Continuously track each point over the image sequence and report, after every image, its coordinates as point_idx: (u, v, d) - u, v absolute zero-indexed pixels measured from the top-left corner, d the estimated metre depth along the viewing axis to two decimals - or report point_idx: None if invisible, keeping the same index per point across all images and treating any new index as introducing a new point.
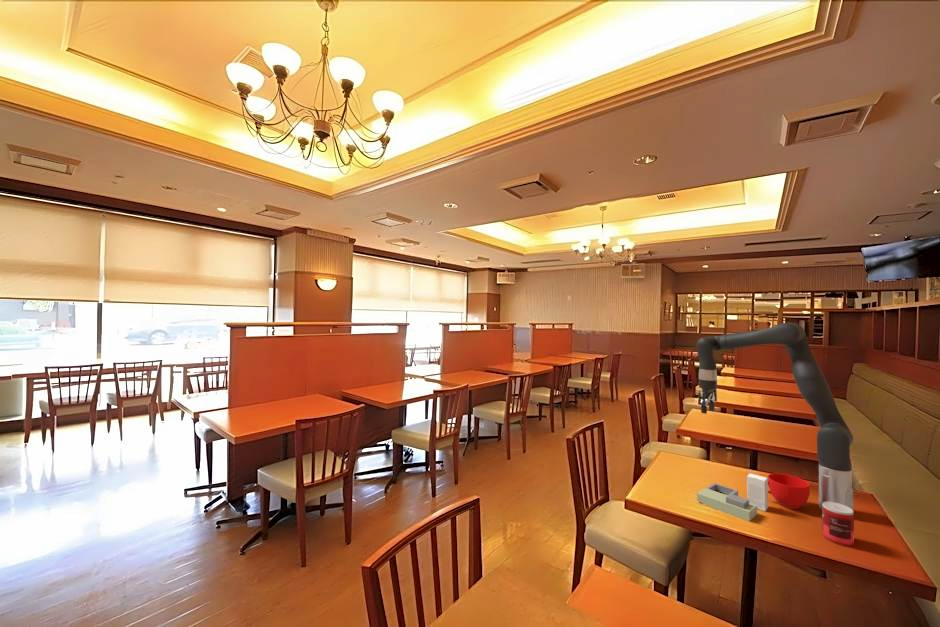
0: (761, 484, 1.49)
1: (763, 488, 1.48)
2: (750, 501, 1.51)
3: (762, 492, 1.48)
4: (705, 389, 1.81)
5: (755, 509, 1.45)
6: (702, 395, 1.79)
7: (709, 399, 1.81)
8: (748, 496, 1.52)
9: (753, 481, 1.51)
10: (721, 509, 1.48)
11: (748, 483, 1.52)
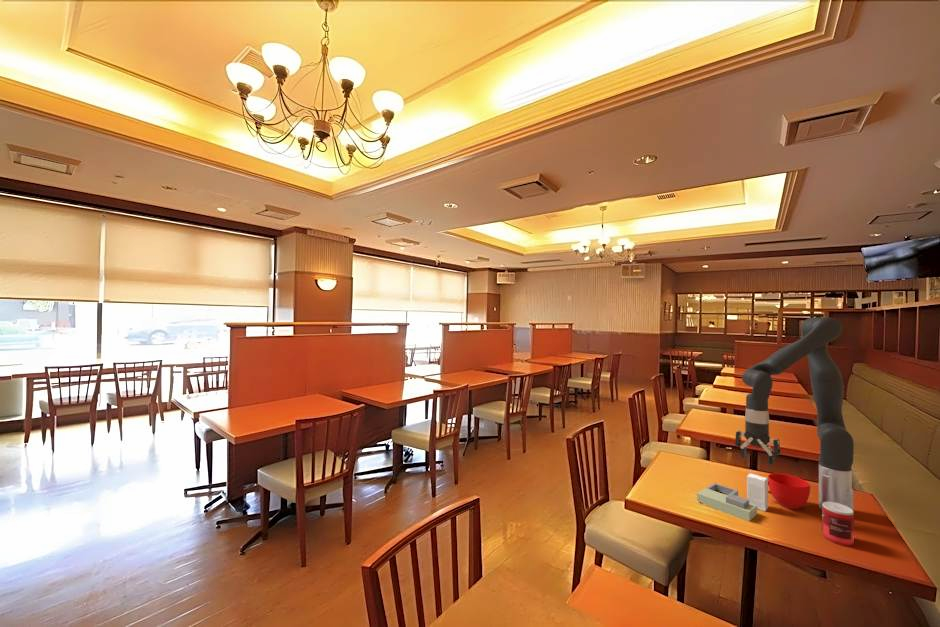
0: (761, 484, 1.49)
1: (763, 488, 1.48)
2: (750, 501, 1.51)
3: (762, 492, 1.48)
4: (768, 434, 1.49)
5: (755, 509, 1.45)
6: (778, 443, 1.46)
7: (766, 445, 1.50)
8: (748, 496, 1.52)
9: (753, 481, 1.51)
10: (721, 509, 1.48)
11: (748, 483, 1.52)
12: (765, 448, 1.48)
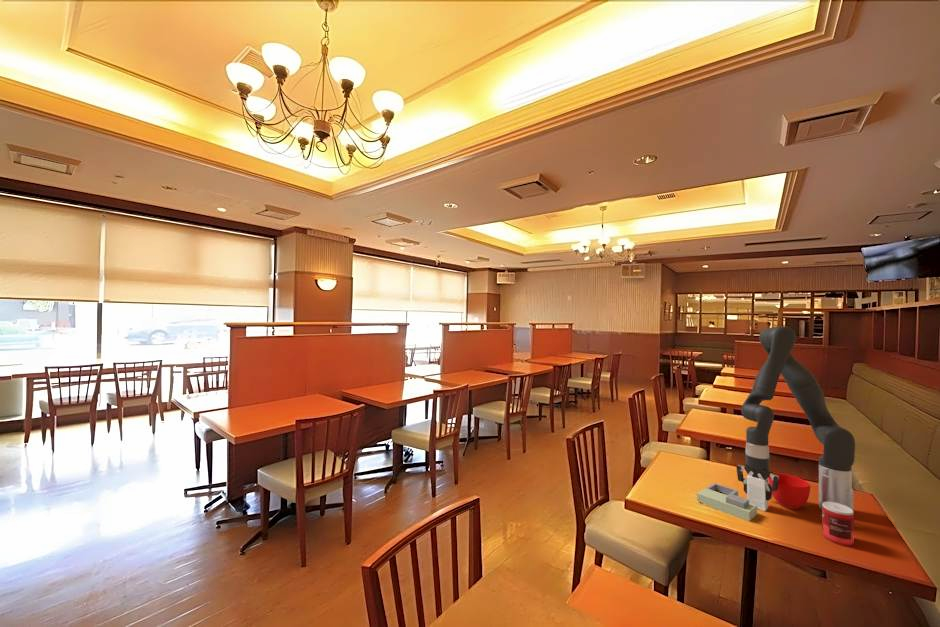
0: (761, 484, 1.49)
1: (763, 488, 1.48)
2: (750, 501, 1.51)
3: (762, 492, 1.48)
4: None
5: (755, 509, 1.45)
6: (778, 479, 1.46)
7: None
8: (748, 496, 1.52)
9: (753, 481, 1.51)
10: (721, 509, 1.48)
11: (748, 483, 1.52)
12: None
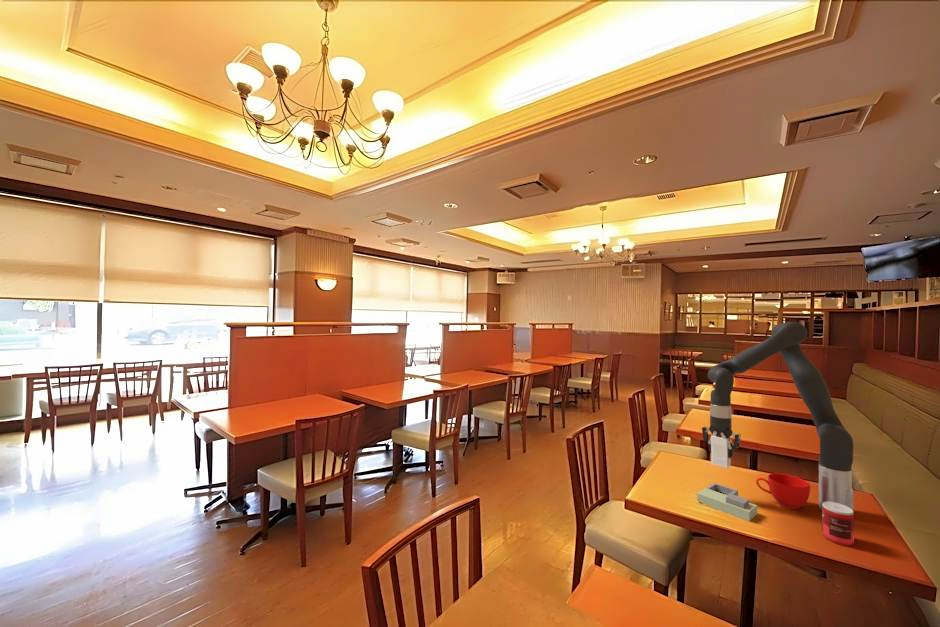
0: (724, 442, 1.57)
1: (725, 446, 1.56)
2: (714, 459, 1.59)
3: (724, 450, 1.56)
4: None
5: (755, 509, 1.45)
6: (739, 438, 1.54)
7: None
8: (712, 455, 1.60)
9: (716, 440, 1.59)
10: (721, 509, 1.48)
11: (712, 442, 1.60)
12: None
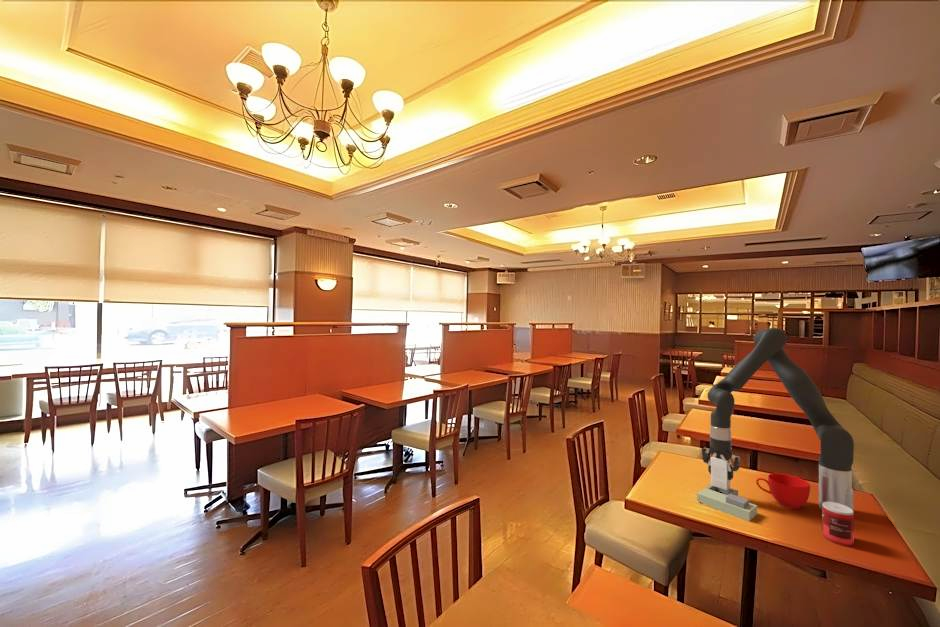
0: (724, 464, 1.57)
1: (725, 468, 1.56)
2: (713, 481, 1.60)
3: (724, 472, 1.57)
4: None
5: (755, 509, 1.45)
6: (739, 460, 1.54)
7: None
8: (712, 476, 1.60)
9: (716, 462, 1.59)
10: (721, 509, 1.48)
11: (712, 464, 1.60)
12: None
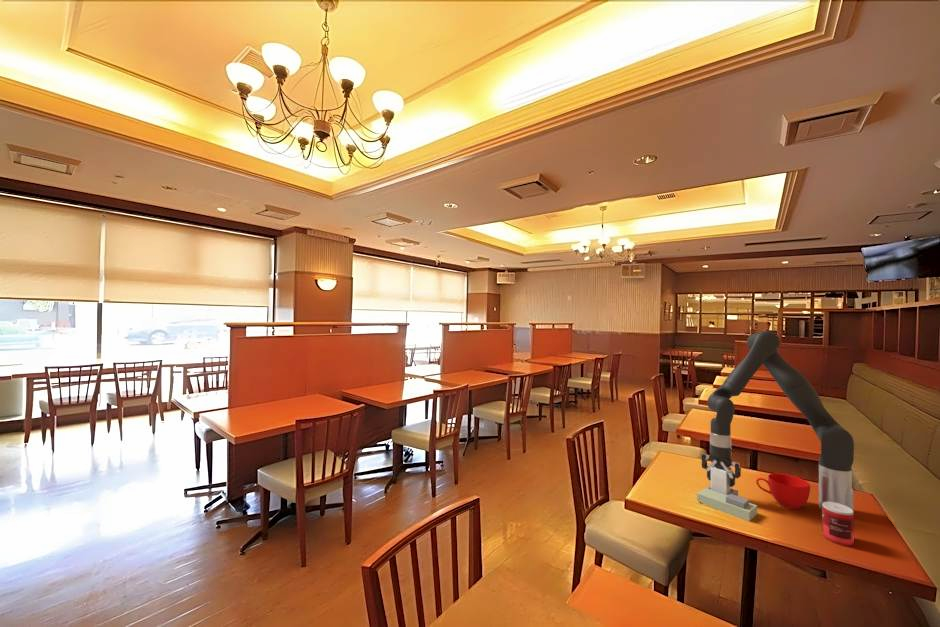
0: (723, 475, 1.57)
1: (725, 479, 1.56)
2: None
3: (724, 483, 1.57)
4: None
5: (755, 509, 1.45)
6: (739, 466, 1.54)
7: None
8: (711, 487, 1.60)
9: (715, 472, 1.59)
10: (721, 509, 1.48)
11: (711, 474, 1.60)
12: (727, 471, 1.56)
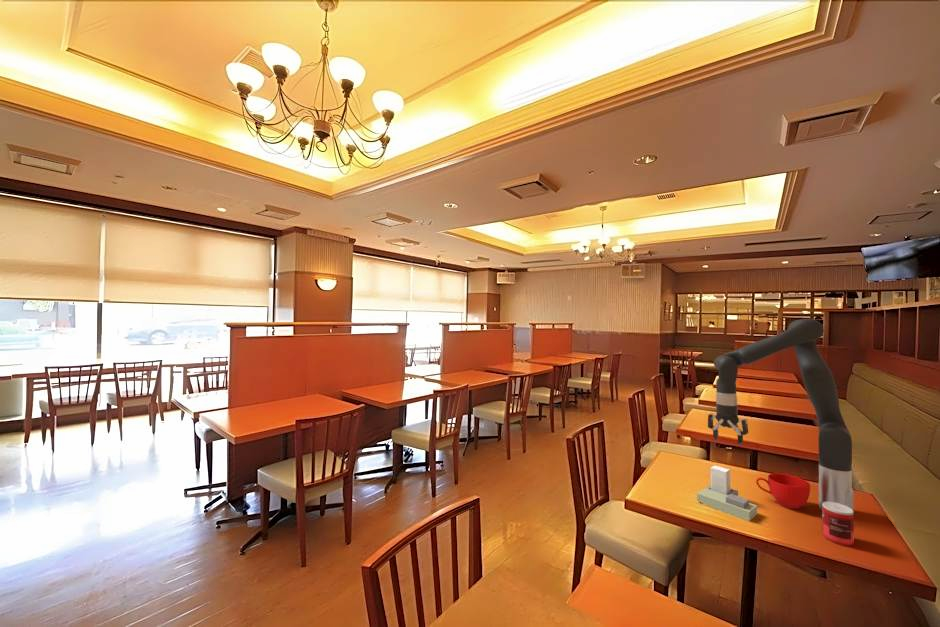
0: (723, 475, 1.57)
1: (725, 479, 1.56)
2: None
3: (724, 483, 1.57)
4: (737, 415, 1.59)
5: (755, 509, 1.45)
6: (746, 423, 1.57)
7: None
8: (712, 487, 1.60)
9: (716, 472, 1.59)
10: (721, 509, 1.48)
11: (712, 474, 1.60)
12: (734, 428, 1.58)
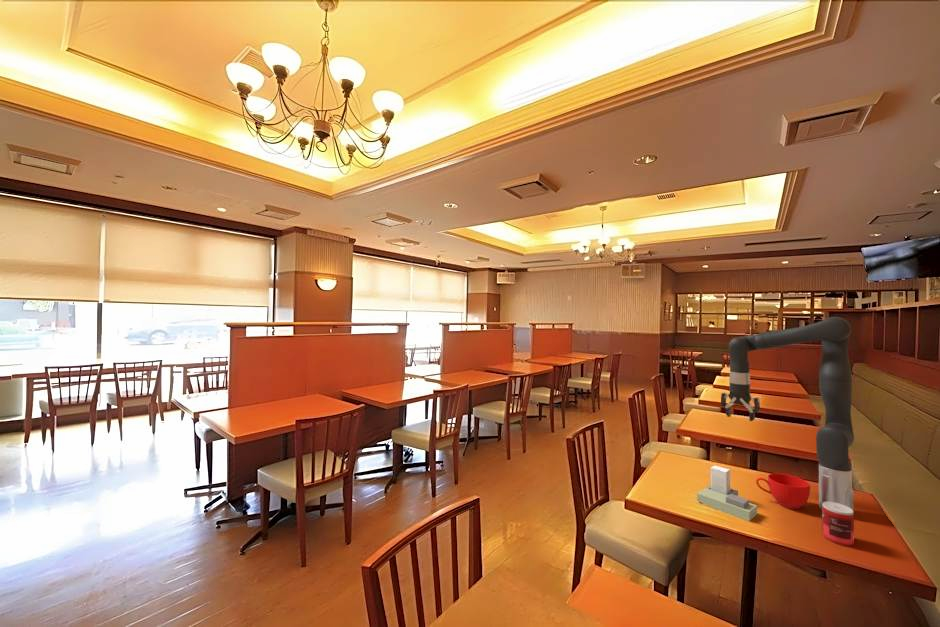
0: (723, 475, 1.57)
1: (725, 479, 1.56)
2: None
3: (724, 483, 1.57)
4: None
5: (755, 509, 1.45)
6: (758, 401, 1.64)
7: None
8: (712, 487, 1.60)
9: (716, 472, 1.59)
10: (721, 509, 1.48)
11: (712, 474, 1.60)
12: (747, 406, 1.65)
